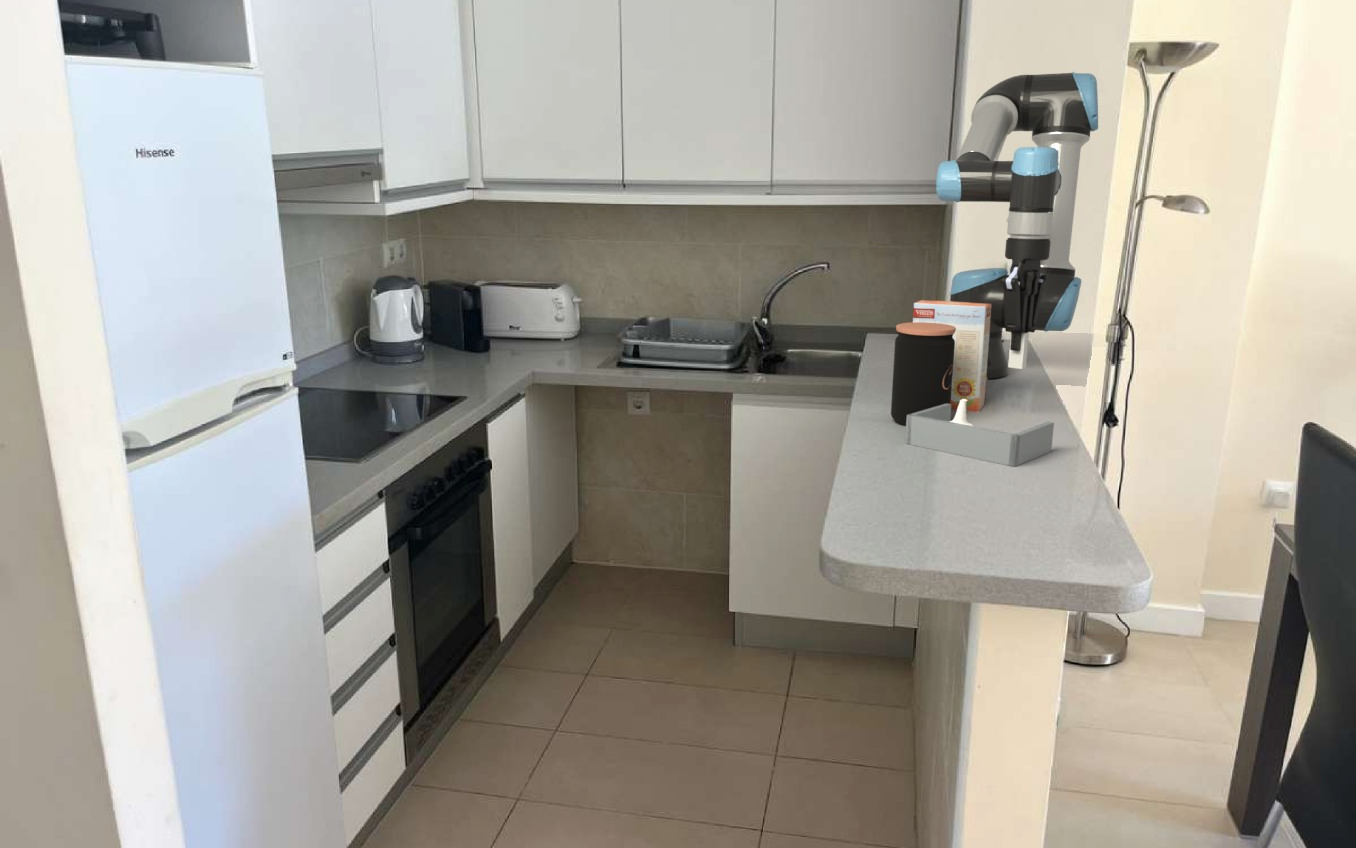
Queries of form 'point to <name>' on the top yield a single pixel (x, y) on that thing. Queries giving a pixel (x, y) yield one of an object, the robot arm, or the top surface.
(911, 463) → the top surface
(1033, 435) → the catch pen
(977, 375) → the cracker box
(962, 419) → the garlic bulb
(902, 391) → the coffee jar
